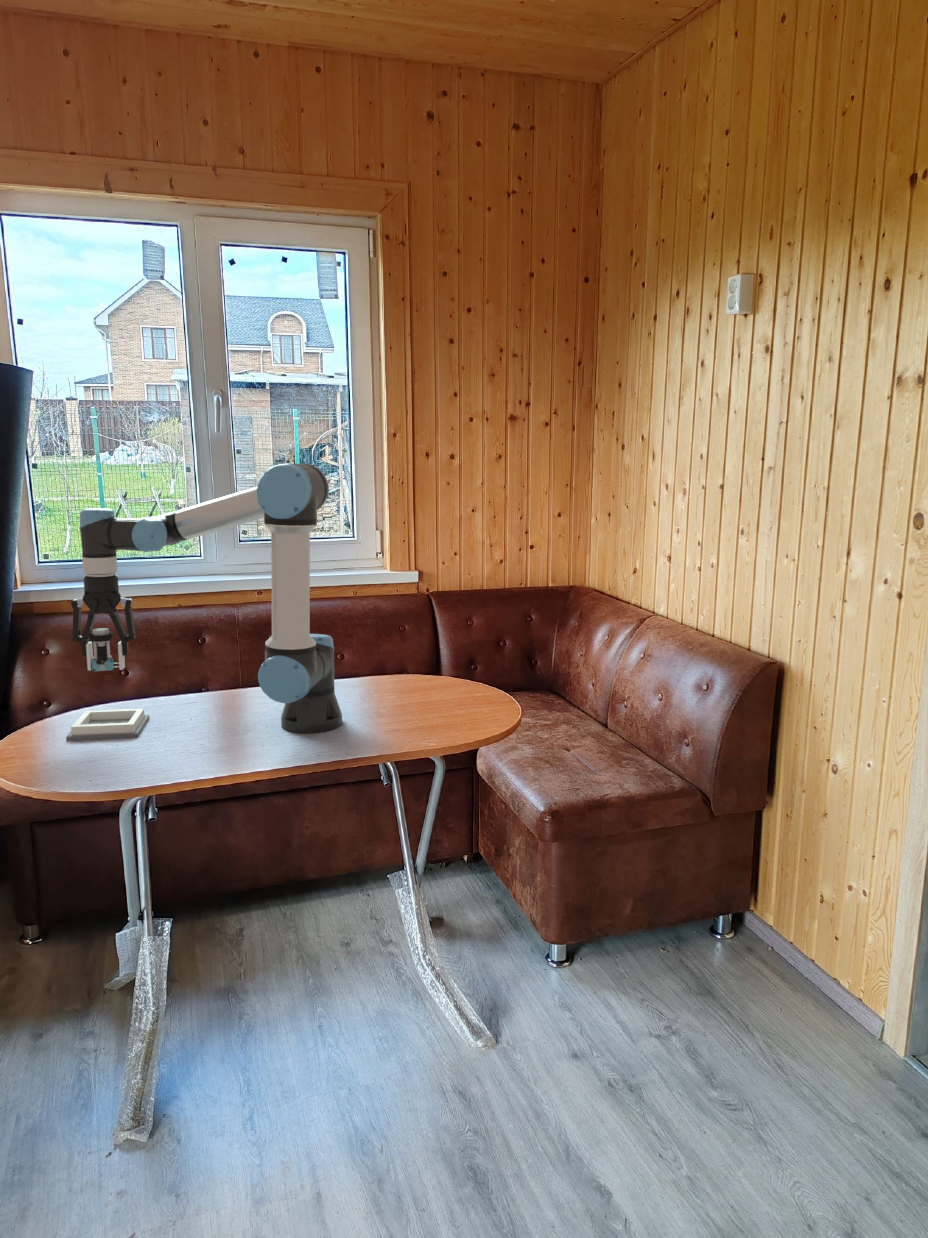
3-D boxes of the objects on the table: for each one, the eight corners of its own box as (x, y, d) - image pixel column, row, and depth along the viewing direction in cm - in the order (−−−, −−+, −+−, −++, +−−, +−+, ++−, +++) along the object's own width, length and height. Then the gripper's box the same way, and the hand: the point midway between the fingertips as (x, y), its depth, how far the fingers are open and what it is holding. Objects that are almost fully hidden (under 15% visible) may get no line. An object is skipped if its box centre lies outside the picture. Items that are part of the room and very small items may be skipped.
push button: (121, 666, 208) (119, 626, 206) (120, 671, 203) (117, 630, 201) (92, 668, 206) (89, 627, 204) (90, 673, 201) (87, 632, 199)
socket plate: (149, 718, 216) (148, 707, 216) (137, 737, 202) (136, 725, 201) (83, 721, 214) (82, 709, 213) (66, 740, 199) (65, 728, 199)
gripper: (146, 571, 205) (151, 664, 210) (61, 572, 202) (67, 666, 206) (140, 576, 198) (146, 671, 202) (51, 576, 194) (59, 673, 199)
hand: (106, 668), depth 204 cm, fingers closed on push button, 6 cm apart
